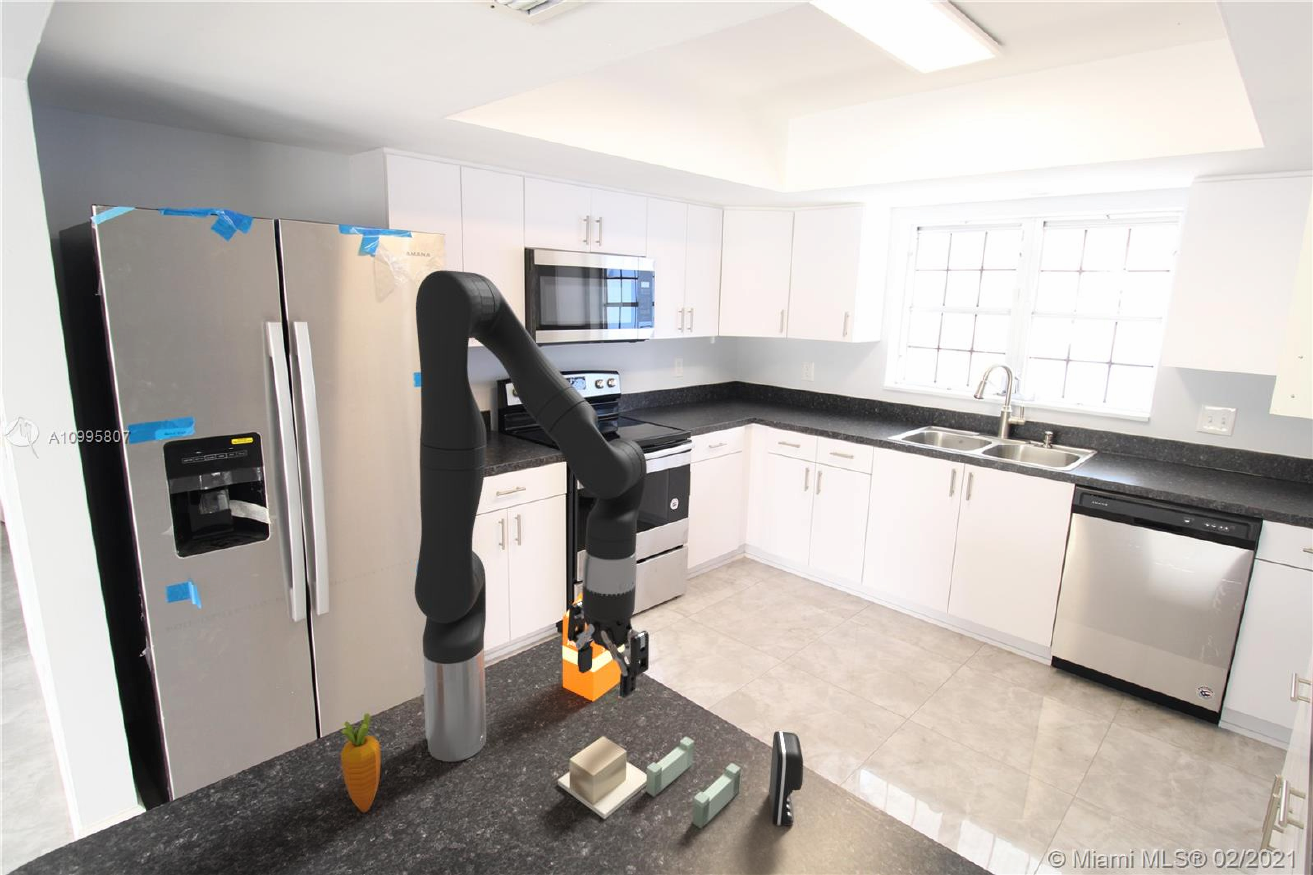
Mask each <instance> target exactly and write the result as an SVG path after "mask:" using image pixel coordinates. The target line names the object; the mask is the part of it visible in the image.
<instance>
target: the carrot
mask: <svg viewBox="0 0 1313 875" xmlns="http://www.w3.org/2000/svg"><path fill="white" fill-rule="evenodd" d="M370 721H371V714H370V713H364V717H363V720H362V724H361V726H360V727H359V728H358V727H356V728H355V729H354V728H353V726H352V725H351V723H350V722H349V721H345V722H344V726H345V727H346V728H343V729H341V734H342V735H343V736H345V737H346V738H347V739H348V741H347V742H346V743H345V744H344V746H343V747H342V750H341V754H340V760H341V767H342V768H341V769H342V774H343V781H344V783H345V787H346V790H347V792H348V794H349V798H350V799H351V800H352V802H353V803H354V805H355V806H356V807H357V808H358V809H359V810H360V811H361V813H366V812H368V811H369V810H370V808H371V806H372V804H373V802H374V799H375V797H376V795H377V791H378V788H379V781H380V775H381V745H380V742H379V740H377V739H376V738H375V737H374V736H373V735H369V734H368V735H367V733H368V730H369V728H370Z"/></svg>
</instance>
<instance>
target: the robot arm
mask: <svg viewBox="0 0 1313 875" xmlns="http://www.w3.org/2000/svg"><path fill="white" fill-rule="evenodd" d="M416 294H417V295H416V299H415V320H416V332H417V334H416V335H417V343H418V354H419V364H420V366H419V367H420V438H419V486H420V487H419V490H420V491H419V493H420V494H419V496H420V497H419V500H420V503H419V505H420V522H421V523H420V524H421V528H420V529H421V530H420V531H421V532H420V534H421V535H420V537H421V538H420V544H419V545H420V546H419V551H418V552H419V554H418V563H417V569H416V577H415V583H414V597H415V602H416V604H417V606H418V608H419V610H420V611H421V612H422V614H423V615H424V616H425V617H426V619H425V625H424V631H423V634H422V656H423V671H424V672H423V673H424V674H423V675H424V687H423V706H424V708H423V709H424V726H425V727H424V728H425V739H427V740H426V741H427V749H428V753H429V752H430V753H429V754H430V756H432V757H433V758H434V757H435V758H434V759H435V760H438V761H441V760H442V762H447V763H448V762H451V763H453V762H459V761H463V760H467V759H469V758H471V757H473V756H475V755H476V754H478V753H479V752H481V750H482V749H483V748H484V747H485V745H486V743H487V742H486V741H487V706H486V702H487V701H486V699H487V698H486V670H485V669H486V668H485V662H486V661H485V630H486V620H487V598H486V597H487V596H486V594H487V592H486V591H487V590H486V583H487V582H486V570H485V566H484V564H483V561H482V560H481V558H480V556H478V554H477V553H476V552H474V550H473V535H474V528H475V523H476V518H477V513H478V510H479V505H480V501H481V496H482V492H483V491H482V490H483V486H484V480H485V479H484V478H485V473H486V462H487V461H486V456H487V428H486V425H485V421H484V417H483V415H482V413H481V409H480V408H479V405H478V402H477V401H476V399H475V396H474V394H473V391H472V387H471V385H470V379H469V371H468V370H469V369H468V361H469V342H470V339H474V340H476V341H477V342H479V343H480V344H481V345H483V347H485V348H486V349H487V350H489V352H491V353H492V354H493V355H494V357H495V358H496V359H497V360H498V361H499V362H500V363H501V365H502V366H503V368H504V370H505V371H506V373H507V375H508V376H509V379H510V381H511V385H512V386H513V389H514V391H515V393H516V396H517V398H518V399H519V401H520V403H521V405H522V406H523V408H524V409H525V411H526V412H527V413H528V414H529V415H530V417H531V418H532V419H533V420H534V421H535V422H536V423H537V424H538V426H540V428H541V429H542V430H543V431H544V432H545V433H546V434H547V436H549V437H550V438H551V440H553V441H554V442H555V443H556V445H557V447H558V448H559V450H560V452H561V456H562V457H563V458H564V460H565V462H566V463H567V465H568V467H569V470H570V471H571V472H572V475H573V476H574V477H575V479H576V480H577V481H578V483H579V484H580V485H581V486H582V487H583V488H584V489H585V490H586V491H587V492H589V493H590V494H591V495H593V496H595V497H597V498H596V502H595V505H594V507H593V508H592V509H591V511H590V512H589V513H588V515H587V520H586V527H585V528H586V529H585V552H584V558H583V566H582V590H581V593H582V601H579V602H577V603H574V602H573V603H574V604H573V603H572V604H573V605H572V604H571V605H569V607H568V610H569V620H568V633H567V638H568V640H569V641H574V642H575V646H576V648H577V649H578V658H577V664H578V671H579V672H581V673H582V674H583V673H585V672H587V671H589V670H591V668H592V659H593V647H592V646H591V645H590V644H592V643H593V642H594V643H595V644H597V645H599V646H602V647H603V648H605V649H606V650H607V651H609V652H610V654H611V656H612V659H613V660H614V661H616V662H617V663H618V666H619V668H620V671H621V674H620V682H619V690H618V691H619V692H618V694H619V697H621V698H623V699H625V698H627V697H629V696H630V695H632V693H635V690H636V680H637V677H638V676H640V675H641V674H644V673H645V672H647V671H649V665H650V664H649V662H650V661H649V660H650V658H649V656H650V654H649V652H650V646H649V645H650V643H649V642H650V636H649V635H650V634H649V633H648V631H647V630H642V631H637V630H634V629H633V626H632V622H631V621H632V620H631V619H632V617H633V614H634V612H635V608H636V607H635V606H636V588H637V587H636V585H637V555H636V552H637V551H636V550H637V530H638V528H637V527H638V526H637V525H638V524H637V520H638V517H639V512H640V510H641V506H642V501H643V496H644V493H645V492H644V491H645V486H646V481H647V473H648V472H647V471H648V470H647V466H648V465H647V460H646V457H645V453H644V451H643V450H642V447H641V446H640V445H639V444H638V443H637V442H635V441H634V440H631V439H629V438H623V437H620V438H614V439H612V440H609V441H607V440H606V439H605V437H604V436H603V435H602V434H601V432H600V430H599V429H598V428H597V424H598V420H599V417H598V414H597V412H596V410H595V409H594V407H593V406H592V405H591V404H590V403H589V402H588V401H587V400H586V399H585V398H584V396H583V395H582V394H580V392H579V391H578V390H577V388H575V386H573V385H572V384H571V383H570V381H568V380H567V378H566V377H565V376H564V375H563V374H562V373H561V372H560V371H559V370H558V369H557V368H556V366H555V365H554V364H553V363H552V361H551V360H550V359H549V358H548V357H547V356H546V354H545V353H544V352H543V350H541V348H540V347H539V345H538V344H537V342H536V341H535V340H534V339H533V337H532V336H531V334H530V333H529V331H528V330H527V329H526V328H525V326H524V324H522V322H521V321H520V319H519V318H518V316H517V314H516V313H515V312H514V310H513V308H512V307H511V306H510V303H508V301H507V300H506V298H505V297H504V295H503V294H502V292H501V291H500V289H498V287H497V286H496V285H495V284H494V282H493V281H491V279H489V278H488V277H486V276H485V275H482V274H479V273H476V272H467V271H457V270H447V269H446V270H444V269H443V270H442V269H441V270H435V271H432V272H430V273H429V274H428V275H426V276H425V277H424V279H423V280H422V281H421V283H420V285H419V287H418V290H417V293H416ZM585 622H586V625H587V629H586V630H585ZM576 627H577V630H576ZM623 644H624V646H623V647H624V649H623V651H622V652H619V651H618V648H620V647H621V646H622V645H623ZM625 657H626V659H627V661H628V664H627V662H626V660H625ZM483 746H484V747H483Z"/></svg>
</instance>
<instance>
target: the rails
mask: <svg viewBox="0 0 1313 875" xmlns="http://www.w3.org/2000/svg"><path fill="white" fill-rule="evenodd" d="M694 746H695V741H694V740H693V739H691V738H690V737H688V736H684V738H682V739H681V740H679V745H678V746H677V747H675V748H674V749H673V750H672V751H671V752H669V753H668V754H667V755H665V756H664V757H662V758H661V760H659V761H657V763H656V762H654V761H653V762H652V763H651V764H649V765H647V767H646V774H647V777H646V786H645V792H646V793H648V794H649V795H650V796H652V797H656V796H657V795H658V794H659V793H661V792H662V791H663V790H664V789H666V787H667V786H669V785H670V784H671V783H673V781H675V780H676V779H677V778H678V777H679V776H681V775H682V774H683V773H684V772H685V771H687V770H688V769H689V768H690V767H691V766H693V765H694V763H693V762H694ZM740 782H741V767H740V766H738V765H737V764H734V763H733V762H731V763H730V764H728V766H727V767H726V768H725V772H724V773H723V774H722V775H721V776H720V777H719V778H718V779H717V780H716V781H714V782H713V784H711V785H710V786H709V787H708V788H707V789H706V790H705V791H704V792H702V791H699V792H698V793H697V794H695V796H694V797H693V804H692V819H691V820H692V821H691V822H692V824H694V825H696V826H697V827H698V828H699V829H703V828H704V827H705V825H707V824H708V823H709V822H710V821H711V820H712V819H713V818H714V817H716V815H717V814H718V813H719V812H720V811H721V810H722V809H723V808H724V807H725V806H726V805H727V804H728V803H729V802H731V800H732V799H733V798H734V797H736V795H737V794H738V793H739V792H740Z"/></svg>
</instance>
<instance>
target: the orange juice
mask: <svg viewBox="0 0 1313 875" xmlns="http://www.w3.org/2000/svg"><path fill="white" fill-rule="evenodd" d="M579 601H582V592H581V593H579V594H578V596H577V598H576V599H575V600H574V602H573V603H572V604H571V605H573V604H574V603H577V602H579ZM568 620H569V609H568V610H566V613H565V614H564V615H563V616H562V687H563V688H565V689H566V690H568V691H571V692H573V693H575V694H577V695H579V696H582V697H583V696H584V697H583V698H585V699H587V700H589V701H591V700H592V702H594V701H596V700H597V699H598V698H600V697H601V696H603V695H604V694H605V693H607V692H608V691H610V690H611V689H612V688H614V687H615V686H616V685H617V684H620V674H621V671H620V668H619V666H618V663H617V662H616V661H614V660H613V659H612V656H611V654H610V652H609V651H607V650H606V649H605V648H603V647H602V646H599V645H597V644H595V643H594V642H593V643H592V644H590V645H591V646H592V647H593V659H592V668H591V670H589V671H587V672H585V673H583V674H582V673H581V672H579V671H578V664H577V658H578V649H577V648H576V646H575V642H574V641H569V640H568V638H567V633H568ZM586 629H587V625H586V622H585V630H586ZM576 630H577V627H576ZM624 647H625V646H624V644H623V645H622V646H621V647H620V648H618V651H619V652H622V651H624Z"/></svg>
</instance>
